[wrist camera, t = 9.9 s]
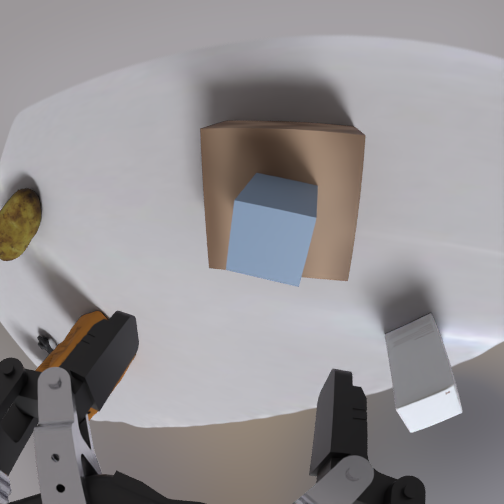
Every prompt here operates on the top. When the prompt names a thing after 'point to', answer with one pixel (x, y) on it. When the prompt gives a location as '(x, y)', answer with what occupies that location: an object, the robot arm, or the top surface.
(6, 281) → the top surface
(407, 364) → the supplement box
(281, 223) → the slate block
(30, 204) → the potato
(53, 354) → the coffee package
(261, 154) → the walnut box
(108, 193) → the top surface
